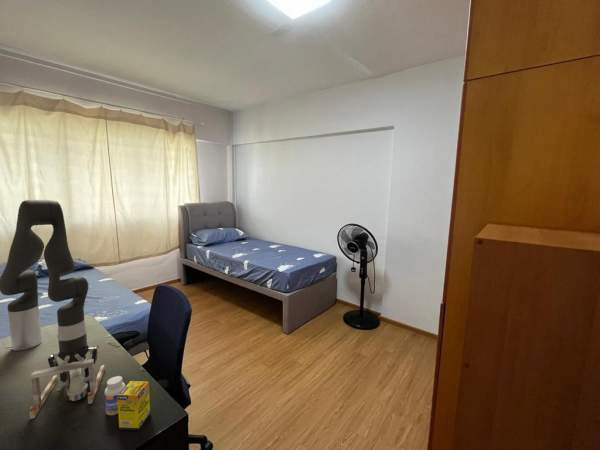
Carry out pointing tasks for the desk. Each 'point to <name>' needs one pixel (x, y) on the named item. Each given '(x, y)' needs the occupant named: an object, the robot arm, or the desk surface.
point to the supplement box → (133, 405)
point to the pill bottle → (113, 394)
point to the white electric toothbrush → (77, 385)
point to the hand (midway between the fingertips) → (76, 378)
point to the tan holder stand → (41, 398)
